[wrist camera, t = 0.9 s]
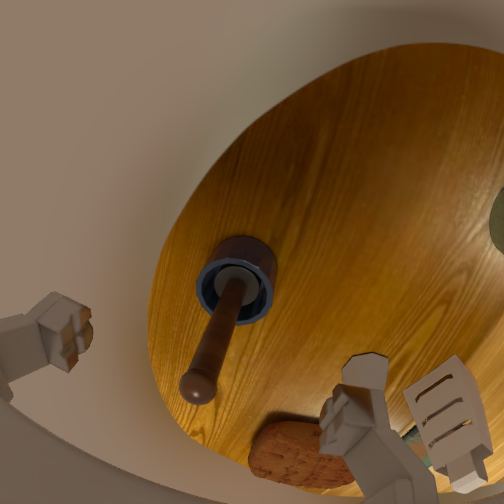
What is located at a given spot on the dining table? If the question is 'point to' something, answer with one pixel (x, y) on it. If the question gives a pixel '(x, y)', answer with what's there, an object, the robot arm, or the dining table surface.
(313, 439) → the cuneiform tablet
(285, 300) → the dining table surface
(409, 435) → the dish towel
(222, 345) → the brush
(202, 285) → the holder
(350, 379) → the flask
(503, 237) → the jar
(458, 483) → the grater
